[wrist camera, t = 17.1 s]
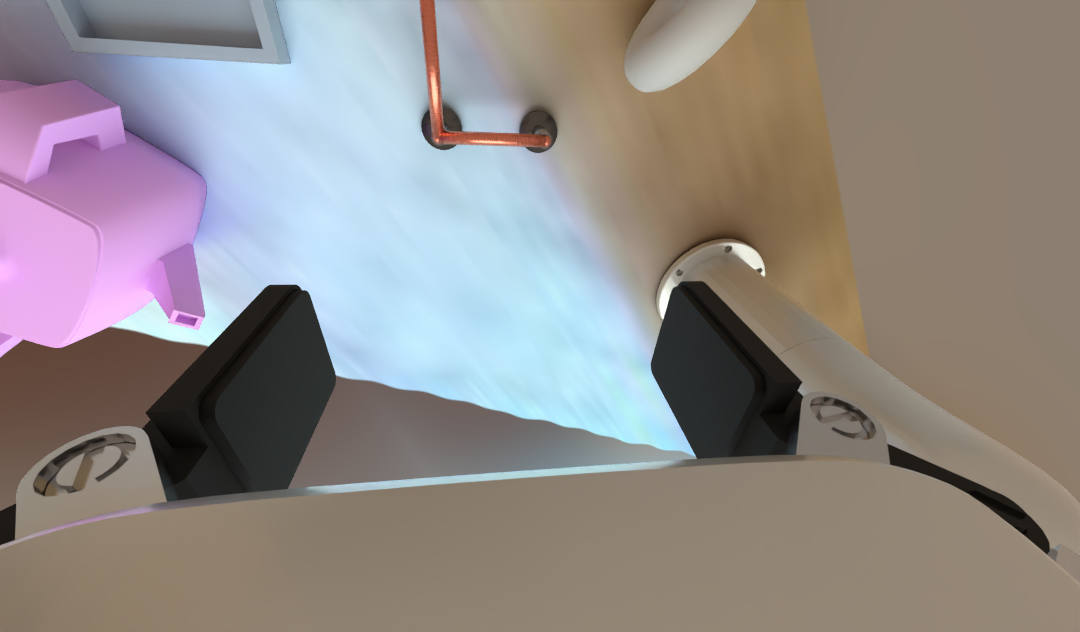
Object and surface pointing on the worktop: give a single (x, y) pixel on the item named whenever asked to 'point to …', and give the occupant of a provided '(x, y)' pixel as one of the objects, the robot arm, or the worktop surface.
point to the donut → (679, 39)
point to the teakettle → (89, 219)
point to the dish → (174, 28)
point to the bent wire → (445, 124)
